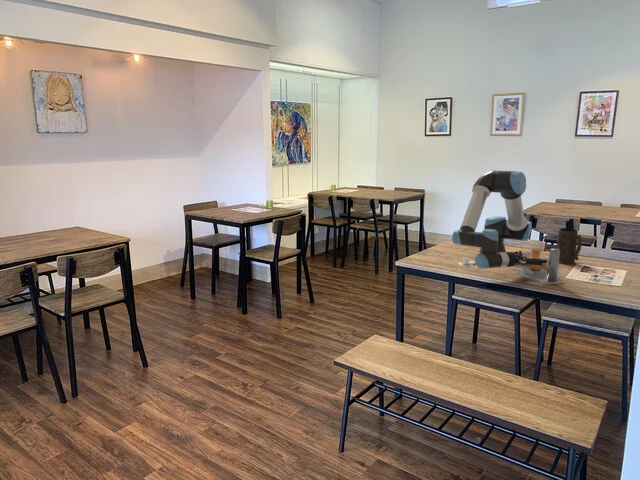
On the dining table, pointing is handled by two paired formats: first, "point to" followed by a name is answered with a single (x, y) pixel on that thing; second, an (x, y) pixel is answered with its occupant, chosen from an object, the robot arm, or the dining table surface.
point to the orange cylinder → (536, 256)
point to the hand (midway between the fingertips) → (541, 257)
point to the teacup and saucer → (467, 261)
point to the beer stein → (568, 245)
